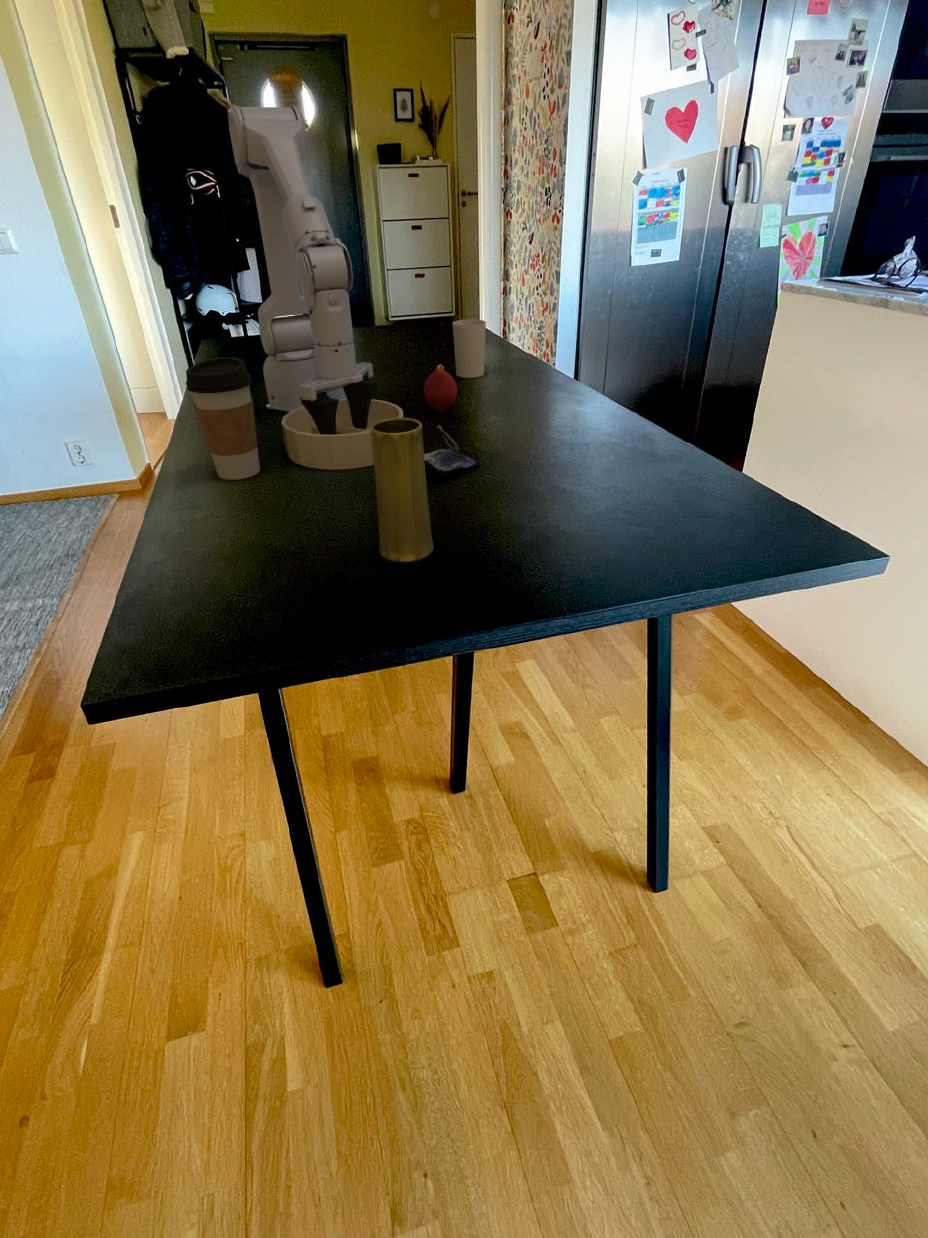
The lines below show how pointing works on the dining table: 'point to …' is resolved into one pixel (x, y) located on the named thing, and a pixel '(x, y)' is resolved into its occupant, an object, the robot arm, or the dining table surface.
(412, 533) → the vase
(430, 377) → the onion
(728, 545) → the dining table surface
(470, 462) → the dark piece
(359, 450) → the bowl
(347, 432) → the tan wooden bar
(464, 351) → the white paper cup
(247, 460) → the coffee cup
